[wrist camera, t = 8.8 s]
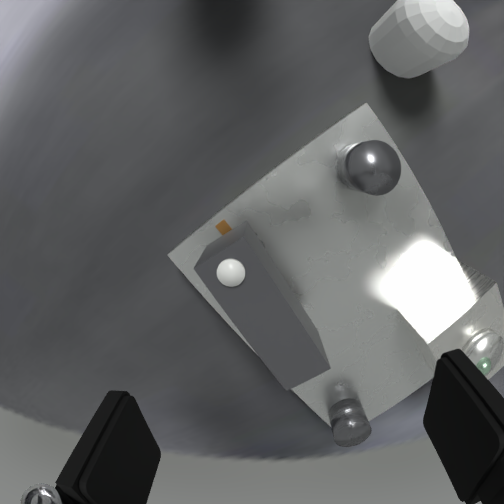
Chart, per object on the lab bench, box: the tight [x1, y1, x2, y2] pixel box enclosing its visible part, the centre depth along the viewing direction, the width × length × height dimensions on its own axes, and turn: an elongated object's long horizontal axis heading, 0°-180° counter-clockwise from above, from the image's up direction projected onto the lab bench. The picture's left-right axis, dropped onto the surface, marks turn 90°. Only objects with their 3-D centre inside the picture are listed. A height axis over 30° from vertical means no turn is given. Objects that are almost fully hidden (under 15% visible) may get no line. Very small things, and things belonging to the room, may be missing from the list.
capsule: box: [368, 0, 469, 79], centre depth 15 cm, size 5×5×8 cm
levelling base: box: [168, 103, 504, 447], centre depth 19 cm, size 16×22×10 cm
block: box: [193, 220, 331, 391], centre depth 17 cm, size 8×3×6 cm, turn 33°
